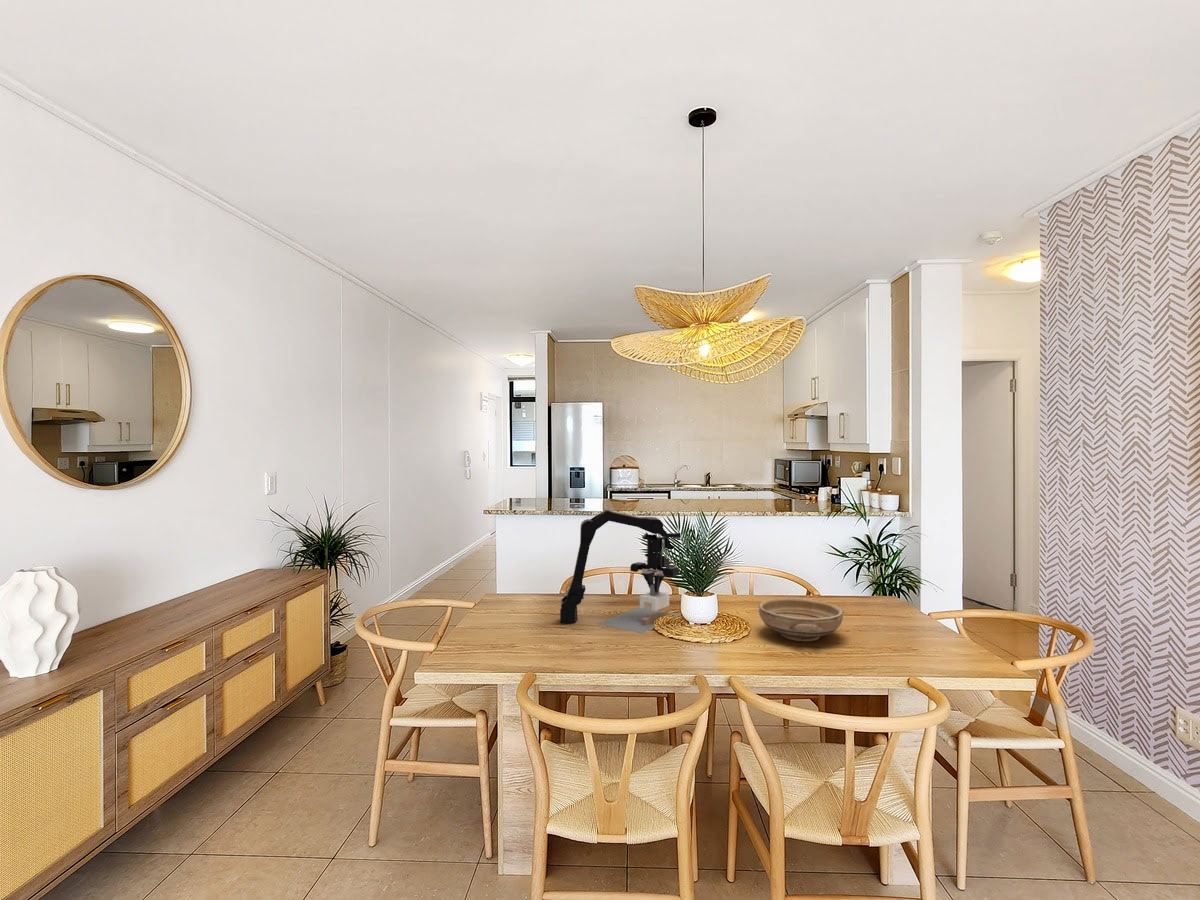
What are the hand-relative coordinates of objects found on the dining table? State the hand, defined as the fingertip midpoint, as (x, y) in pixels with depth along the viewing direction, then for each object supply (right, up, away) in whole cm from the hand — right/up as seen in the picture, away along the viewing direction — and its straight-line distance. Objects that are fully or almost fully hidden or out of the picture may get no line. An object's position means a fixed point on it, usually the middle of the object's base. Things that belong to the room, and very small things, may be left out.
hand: (654, 592), depth 233 cm
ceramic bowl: (+50, -12, -17) cm, 54 cm away
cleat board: (-5, -12, +1) cm, 13 cm away
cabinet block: (0, -6, 0) cm, 6 cm away
